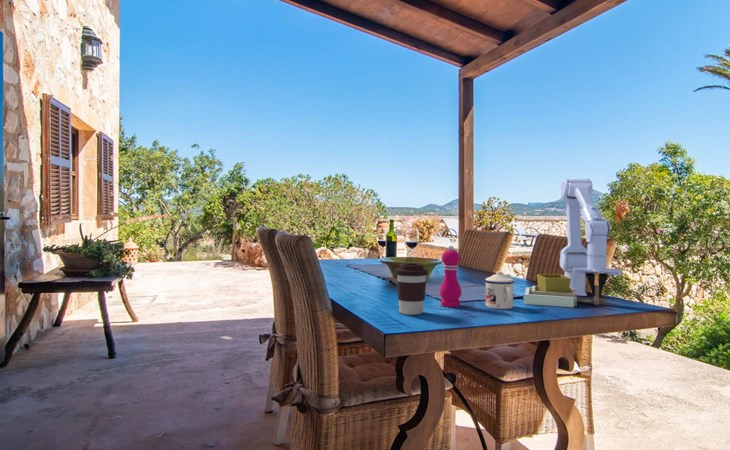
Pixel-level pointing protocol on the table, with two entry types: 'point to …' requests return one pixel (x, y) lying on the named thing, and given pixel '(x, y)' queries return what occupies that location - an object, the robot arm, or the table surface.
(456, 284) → the pepper mill
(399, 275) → the coffee cup
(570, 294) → the carrier frame
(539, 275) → the flower pot
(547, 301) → the tray
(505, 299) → the teacup with lid
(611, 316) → the table surface
